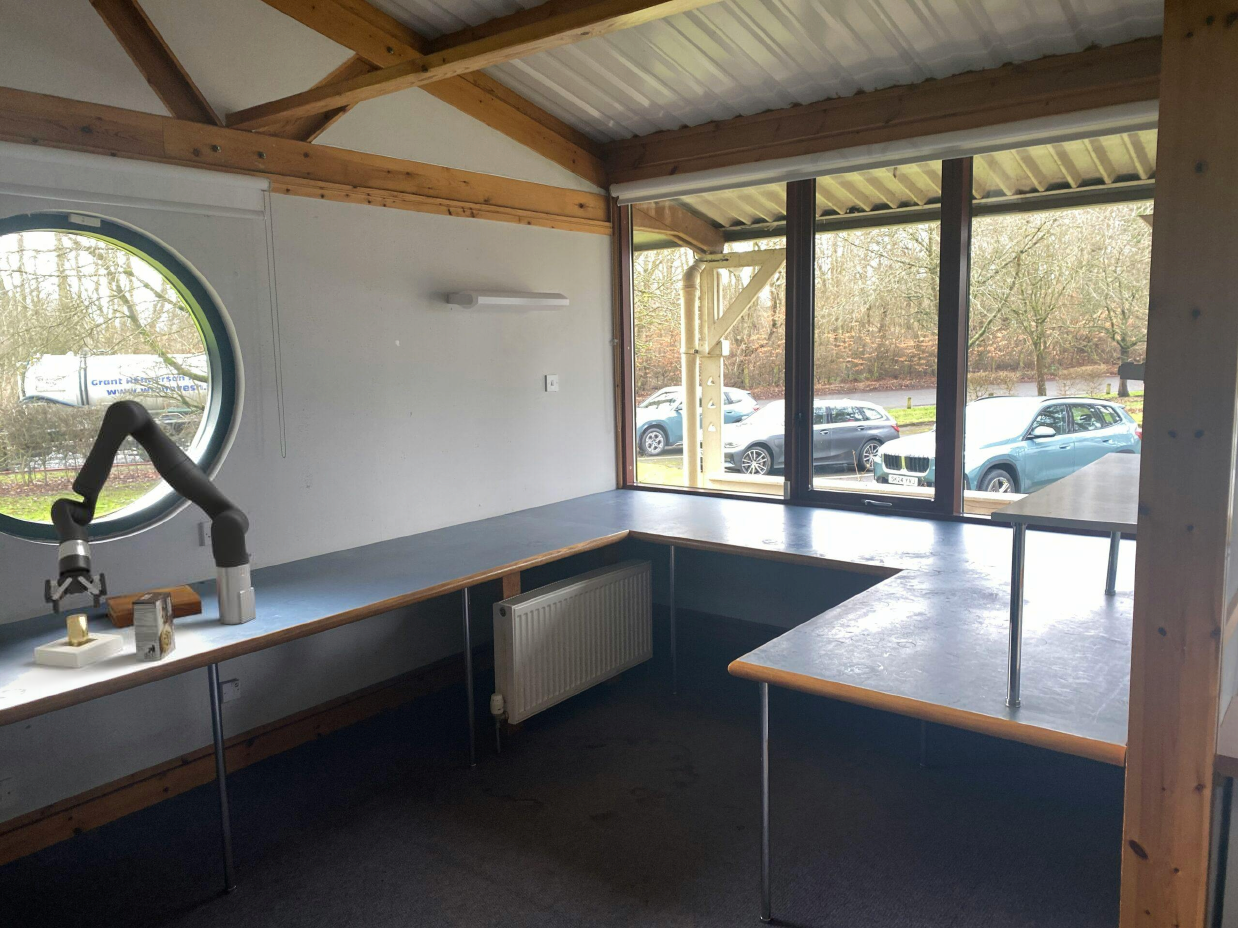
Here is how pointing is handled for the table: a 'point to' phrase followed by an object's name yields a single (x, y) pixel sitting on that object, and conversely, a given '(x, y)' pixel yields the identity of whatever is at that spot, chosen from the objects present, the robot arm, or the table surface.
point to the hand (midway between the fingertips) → (77, 611)
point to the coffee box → (153, 626)
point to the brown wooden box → (181, 596)
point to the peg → (77, 630)
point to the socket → (78, 651)
